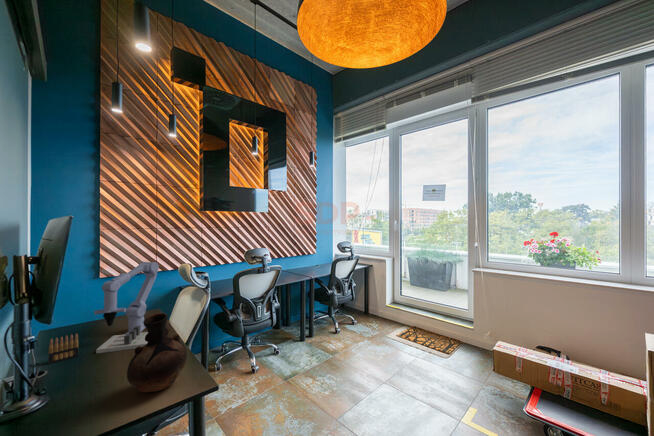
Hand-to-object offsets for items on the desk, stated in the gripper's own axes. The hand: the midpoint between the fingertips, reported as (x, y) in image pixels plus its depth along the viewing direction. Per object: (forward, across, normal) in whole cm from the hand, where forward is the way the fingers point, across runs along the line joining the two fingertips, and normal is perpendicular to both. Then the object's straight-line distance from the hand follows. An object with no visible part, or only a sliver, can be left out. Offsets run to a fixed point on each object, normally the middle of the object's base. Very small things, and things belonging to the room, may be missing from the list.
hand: (110, 325), depth 150 cm
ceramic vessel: (+10, +41, -56) cm, 70 cm away
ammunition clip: (+10, -12, -17) cm, 23 cm away
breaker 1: (+7, +13, -11) cm, 19 cm away
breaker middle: (+7, +13, -5) cm, 16 cm away
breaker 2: (+7, +13, +1) cm, 15 cm away
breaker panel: (+9, +11, -5) cm, 15 cm away
